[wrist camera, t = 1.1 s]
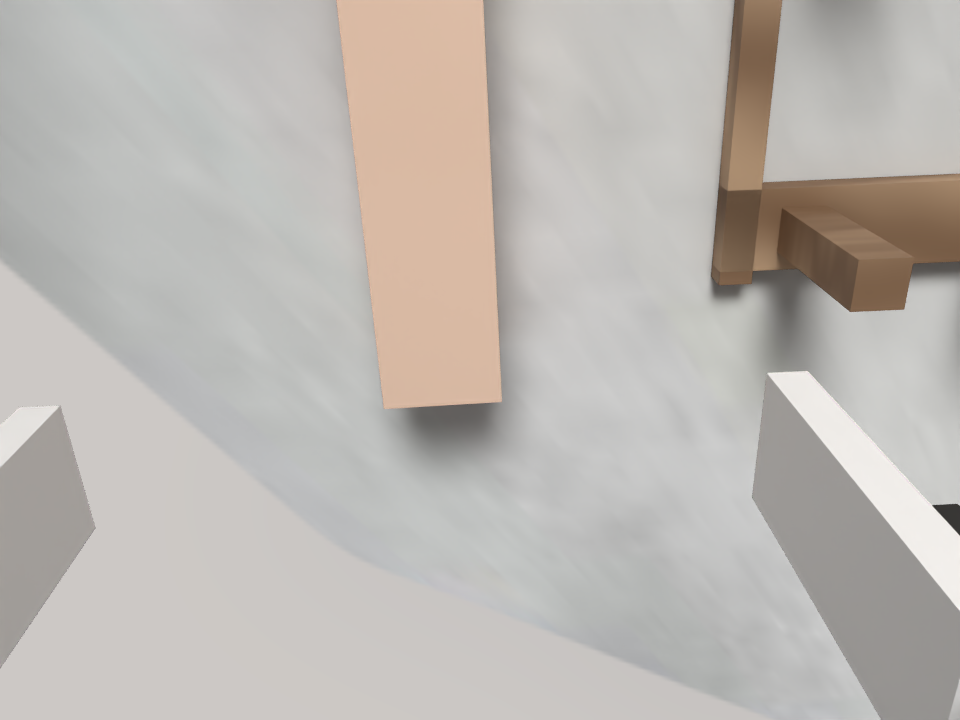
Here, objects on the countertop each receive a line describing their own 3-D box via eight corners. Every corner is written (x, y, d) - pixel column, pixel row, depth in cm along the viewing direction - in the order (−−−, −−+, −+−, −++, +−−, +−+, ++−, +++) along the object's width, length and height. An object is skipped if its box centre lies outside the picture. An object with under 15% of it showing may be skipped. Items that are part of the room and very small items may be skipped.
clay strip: (335, -196, 24) (308, -238, 20) (468, -204, 24) (471, -247, 20) (394, 349, 32) (384, 409, 27) (495, 343, 32) (501, 401, 27)
